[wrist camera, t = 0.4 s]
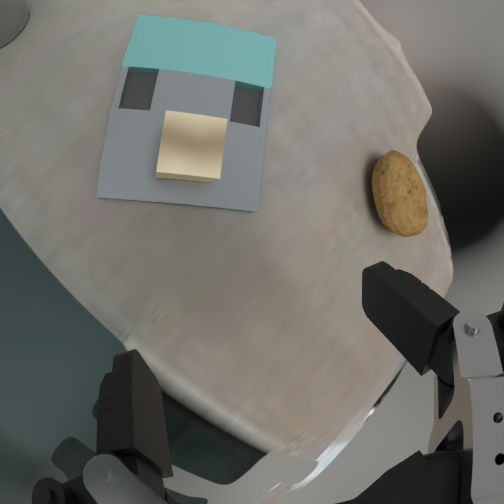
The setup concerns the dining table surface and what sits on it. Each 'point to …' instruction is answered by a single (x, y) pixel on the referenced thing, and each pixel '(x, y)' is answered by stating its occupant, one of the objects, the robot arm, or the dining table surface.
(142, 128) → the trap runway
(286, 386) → the dining table surface
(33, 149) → the dining table surface
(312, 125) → the dining table surface
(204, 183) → the maple block
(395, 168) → the potato
